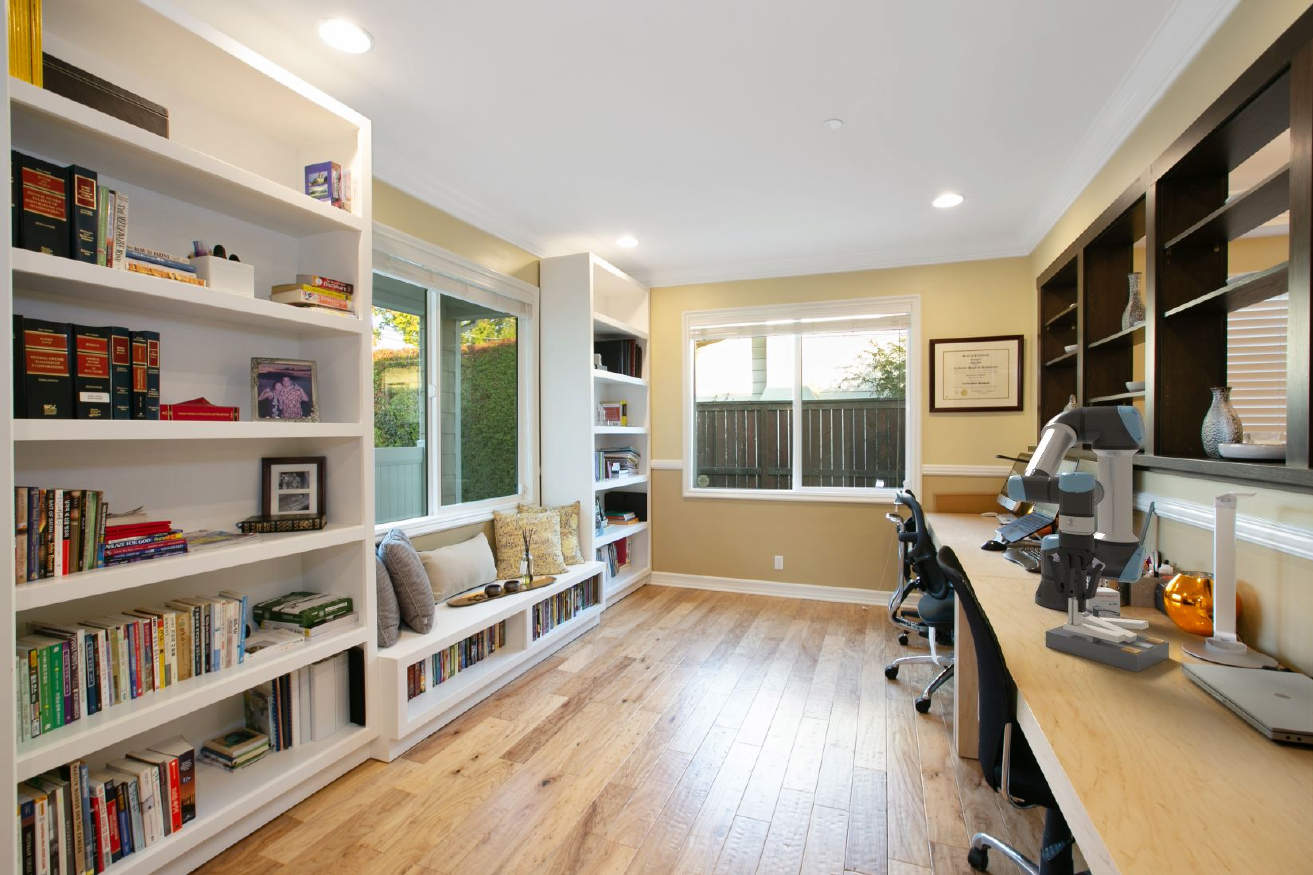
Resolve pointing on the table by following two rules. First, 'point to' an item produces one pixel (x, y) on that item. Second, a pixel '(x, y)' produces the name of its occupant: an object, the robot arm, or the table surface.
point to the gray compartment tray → (1110, 649)
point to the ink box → (1104, 604)
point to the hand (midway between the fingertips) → (1075, 623)
